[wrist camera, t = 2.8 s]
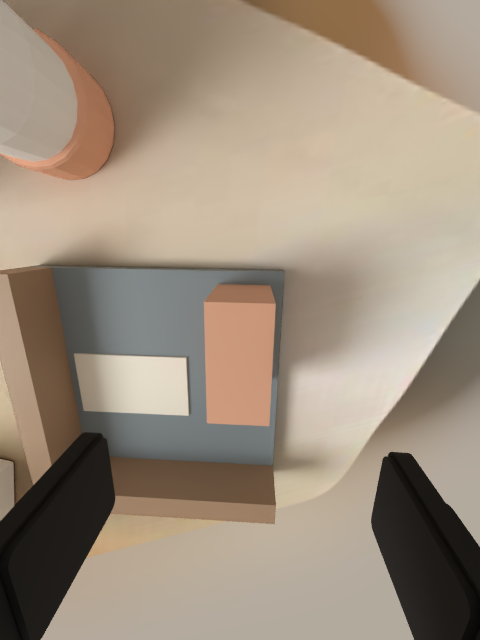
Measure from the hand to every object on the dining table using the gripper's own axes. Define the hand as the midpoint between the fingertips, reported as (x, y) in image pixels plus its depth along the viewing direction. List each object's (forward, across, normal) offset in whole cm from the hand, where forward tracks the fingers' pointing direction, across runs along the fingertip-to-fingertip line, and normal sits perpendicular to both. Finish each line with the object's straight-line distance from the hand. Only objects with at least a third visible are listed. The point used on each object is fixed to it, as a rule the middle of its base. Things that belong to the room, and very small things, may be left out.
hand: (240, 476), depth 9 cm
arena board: (+15, +8, +5) cm, 17 cm away
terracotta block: (+14, +1, 0) cm, 14 cm away
